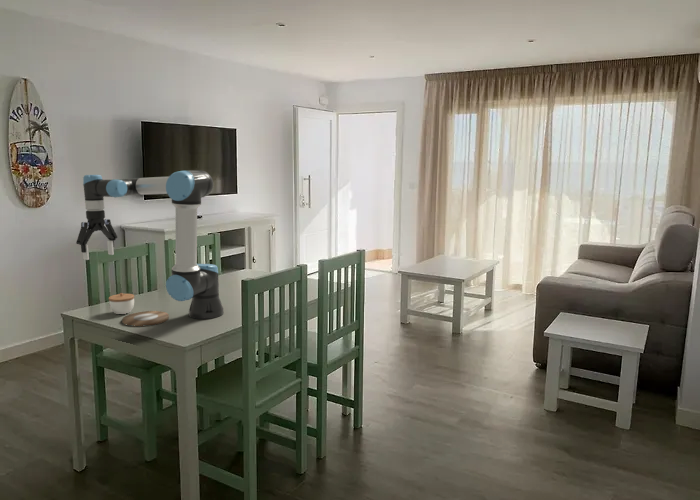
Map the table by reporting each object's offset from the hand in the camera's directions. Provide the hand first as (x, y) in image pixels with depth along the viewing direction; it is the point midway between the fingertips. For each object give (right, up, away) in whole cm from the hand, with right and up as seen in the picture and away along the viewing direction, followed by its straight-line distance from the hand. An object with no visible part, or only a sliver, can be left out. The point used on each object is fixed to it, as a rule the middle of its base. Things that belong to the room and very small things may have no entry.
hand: (99, 257), depth 243 cm
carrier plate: (+24, -27, -7) cm, 37 cm away
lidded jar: (+9, -26, +3) cm, 28 cm away
